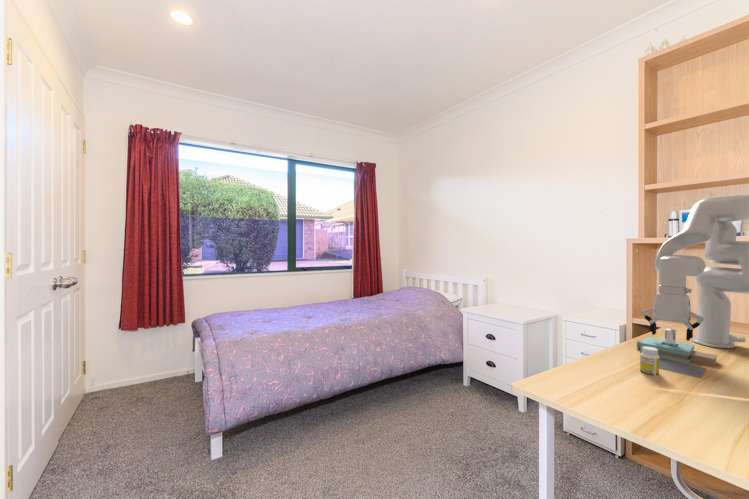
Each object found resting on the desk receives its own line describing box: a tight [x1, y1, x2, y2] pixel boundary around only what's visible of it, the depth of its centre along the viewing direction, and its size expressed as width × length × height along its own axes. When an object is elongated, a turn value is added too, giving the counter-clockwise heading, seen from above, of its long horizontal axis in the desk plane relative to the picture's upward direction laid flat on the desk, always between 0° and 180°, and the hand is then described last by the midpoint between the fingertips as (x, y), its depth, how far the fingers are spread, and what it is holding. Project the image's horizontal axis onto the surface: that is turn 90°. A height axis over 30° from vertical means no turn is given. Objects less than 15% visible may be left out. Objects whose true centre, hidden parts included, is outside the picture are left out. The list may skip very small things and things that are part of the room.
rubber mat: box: [659, 357, 707, 379], centre depth 114 cm, size 12×12×1 cm
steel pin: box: [664, 327, 677, 347], centre depth 126 cm, size 3×3×10 cm
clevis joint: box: [636, 336, 718, 367], centre depth 125 cm, size 22×12×4 cm, turn 41°
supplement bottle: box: [639, 346, 660, 376], centre depth 110 cm, size 5×5×8 cm
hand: (670, 336), depth 126 cm, fingers open, 9 cm apart
